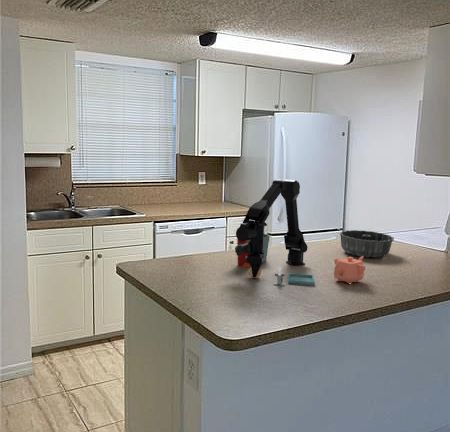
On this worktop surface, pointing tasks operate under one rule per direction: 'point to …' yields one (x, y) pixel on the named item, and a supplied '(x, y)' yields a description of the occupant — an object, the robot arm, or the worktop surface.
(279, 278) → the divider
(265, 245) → the grey tapered cup
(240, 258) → the paper cup
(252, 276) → the ball
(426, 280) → the worktop surface
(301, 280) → the coaster tray
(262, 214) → the robot arm
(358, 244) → the bundt pan
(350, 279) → the pink piggy bank
